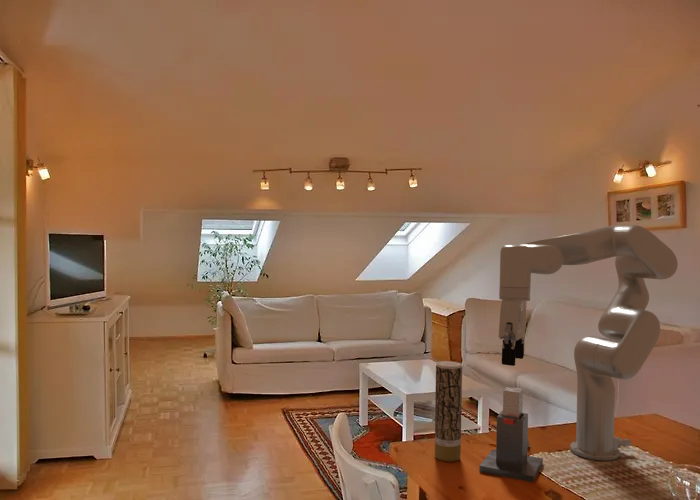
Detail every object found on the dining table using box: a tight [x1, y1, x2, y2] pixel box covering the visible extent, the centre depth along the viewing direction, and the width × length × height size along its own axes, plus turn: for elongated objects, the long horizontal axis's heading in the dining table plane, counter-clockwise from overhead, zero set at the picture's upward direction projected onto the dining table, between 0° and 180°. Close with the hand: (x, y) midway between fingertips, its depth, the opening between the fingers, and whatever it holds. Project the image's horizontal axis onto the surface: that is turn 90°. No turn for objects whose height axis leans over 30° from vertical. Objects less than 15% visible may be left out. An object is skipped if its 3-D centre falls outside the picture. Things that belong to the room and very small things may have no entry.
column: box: [502, 386, 524, 419], centre depth 148 cm, size 4×4×18 cm
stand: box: [479, 409, 544, 483], centre depth 148 cm, size 13×13×14 cm
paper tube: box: [434, 360, 463, 463], centre depth 154 cm, size 7×7×25 cm
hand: (512, 361), depth 147 cm, fingers open, 9 cm apart
